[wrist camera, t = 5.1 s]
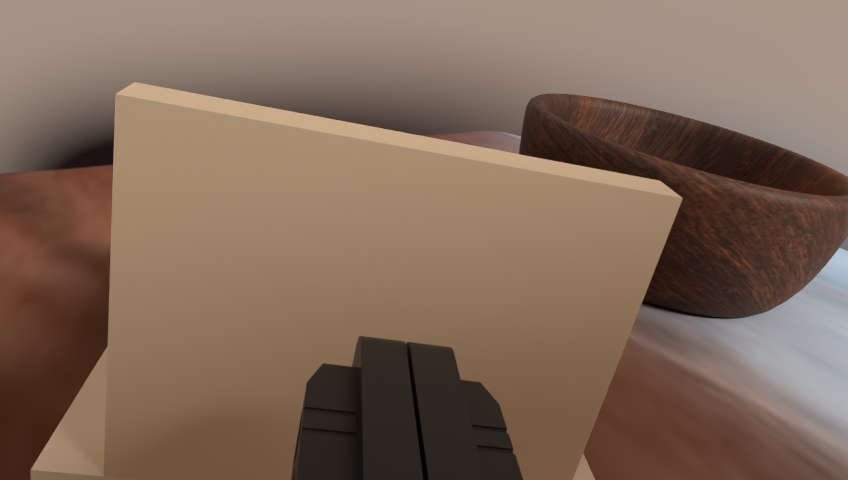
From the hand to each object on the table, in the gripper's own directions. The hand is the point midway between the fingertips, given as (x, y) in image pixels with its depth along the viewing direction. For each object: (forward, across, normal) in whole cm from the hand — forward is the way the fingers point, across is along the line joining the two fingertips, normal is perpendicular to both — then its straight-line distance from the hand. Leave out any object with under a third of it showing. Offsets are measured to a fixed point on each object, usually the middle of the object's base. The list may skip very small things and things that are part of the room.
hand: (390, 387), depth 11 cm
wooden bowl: (+38, -25, +12) cm, 47 cm away
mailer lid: (+12, 0, +5) cm, 13 cm away
